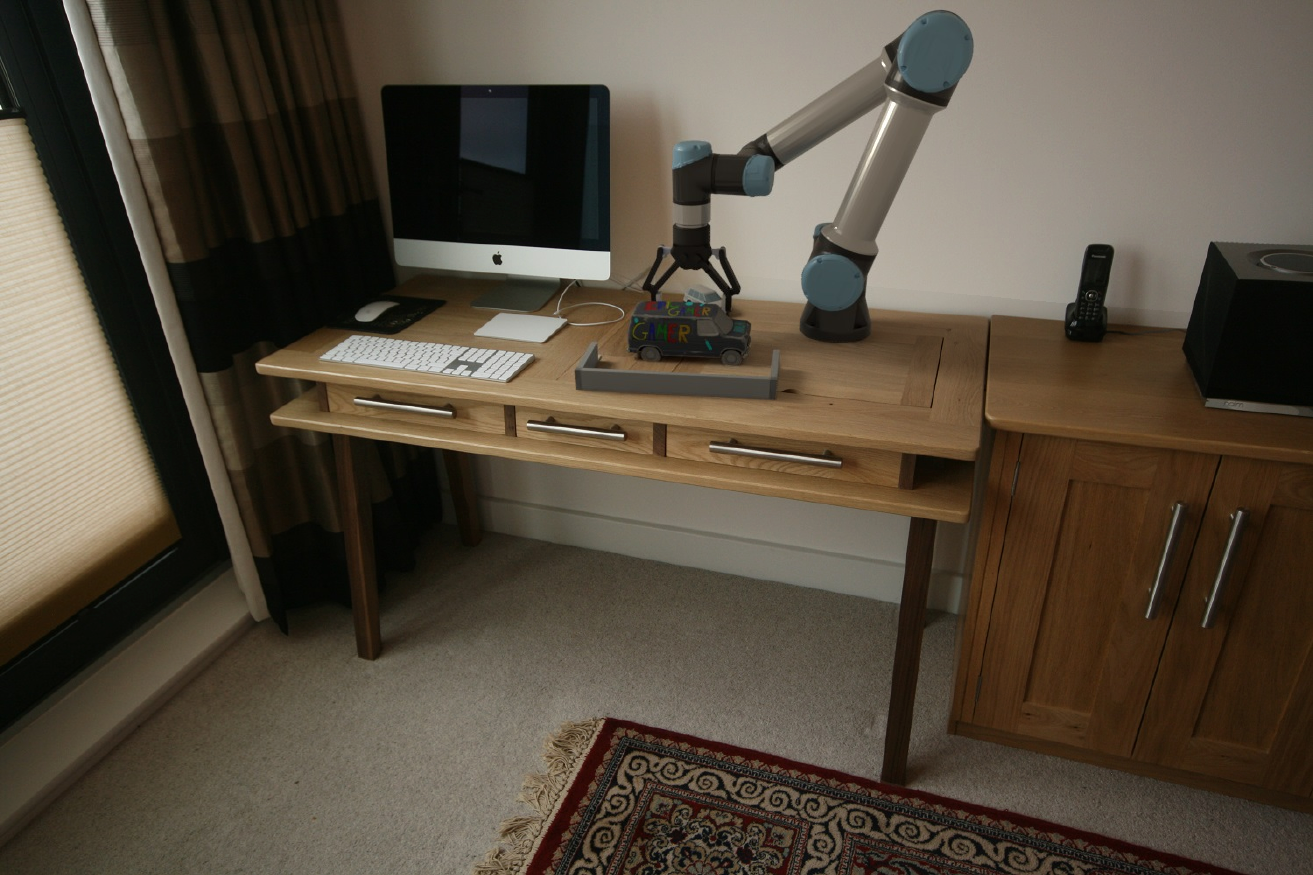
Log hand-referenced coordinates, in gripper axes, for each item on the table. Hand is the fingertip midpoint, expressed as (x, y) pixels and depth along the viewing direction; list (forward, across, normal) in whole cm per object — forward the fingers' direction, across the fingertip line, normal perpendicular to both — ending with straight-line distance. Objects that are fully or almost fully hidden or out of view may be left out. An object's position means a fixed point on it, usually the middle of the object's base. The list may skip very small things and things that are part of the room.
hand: (691, 324), depth 182 cm
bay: (+4, 0, +19) cm, 20 cm away
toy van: (+4, -1, +7) cm, 8 cm away
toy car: (+4, -1, -19) cm, 20 cm away
